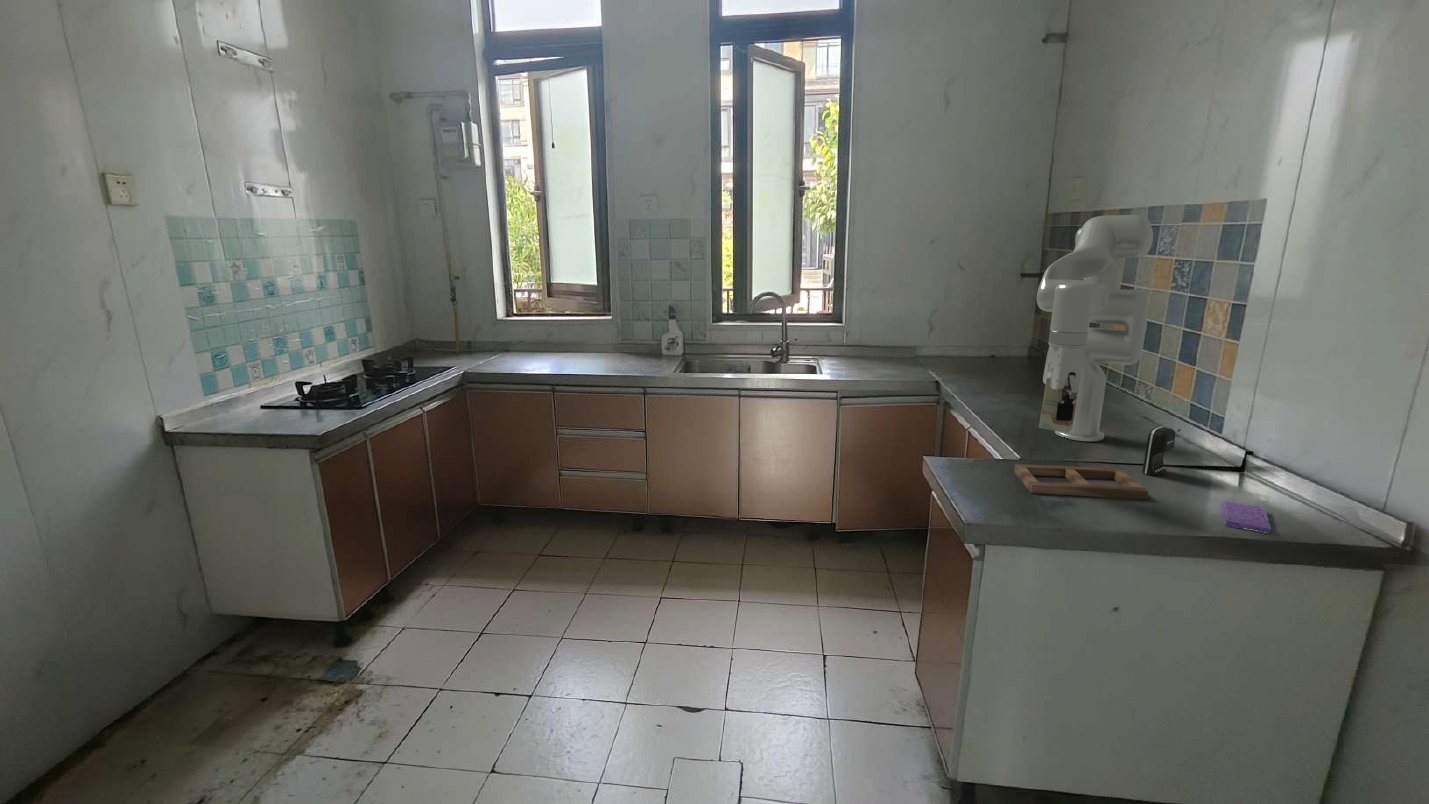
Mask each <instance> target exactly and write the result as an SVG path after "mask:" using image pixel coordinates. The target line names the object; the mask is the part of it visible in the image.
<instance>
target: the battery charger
mask: <svg viewBox="0 0 1429 804" xmlns="http://www.w3.org/2000/svg"><path fill="white" fill-rule="evenodd" d="M1175 442H1176V431H1175V429H1173V428H1169V427H1166V426H1156V427H1154V428H1151V429H1150V430H1149V433H1148V436H1147V441H1146V446H1145V453H1144V460H1143V465H1142V474H1145V475H1150V476H1160V475H1161V474H1164V473H1165V472H1167V467H1166V466H1165V463H1164V455H1165V453H1167V452H1169V451H1171V450H1173V449H1174V447H1175Z"/></svg>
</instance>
